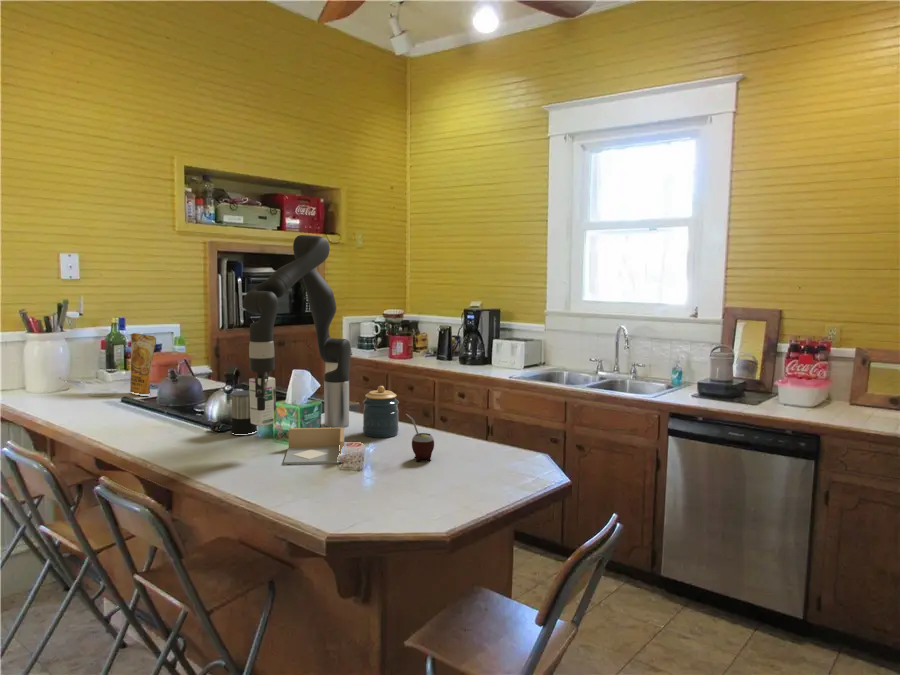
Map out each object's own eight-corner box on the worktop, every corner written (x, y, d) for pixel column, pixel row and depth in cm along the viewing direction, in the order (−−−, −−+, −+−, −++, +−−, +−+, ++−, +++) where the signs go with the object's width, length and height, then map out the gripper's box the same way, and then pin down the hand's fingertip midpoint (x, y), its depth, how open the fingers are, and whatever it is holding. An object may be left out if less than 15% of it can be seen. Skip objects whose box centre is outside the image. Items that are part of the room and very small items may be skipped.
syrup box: (261, 426, 197) (260, 379, 195) (249, 423, 201) (248, 377, 199) (276, 423, 202) (275, 377, 200) (265, 420, 205) (264, 375, 203)
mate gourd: (438, 459, 203) (439, 412, 201) (423, 465, 196) (424, 417, 195) (419, 455, 207) (419, 409, 206) (404, 460, 201) (404, 413, 199)
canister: (381, 440, 224) (381, 390, 223) (355, 434, 232) (355, 386, 230) (406, 433, 235) (406, 385, 233) (380, 427, 242) (380, 381, 241)
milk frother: (258, 435, 228) (258, 394, 227) (211, 438, 223) (210, 396, 221) (255, 426, 242) (254, 387, 240) (210, 429, 236) (209, 389, 234)
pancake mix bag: (139, 391, 306) (137, 332, 303) (159, 396, 294) (157, 335, 291) (125, 392, 301) (123, 333, 298) (144, 398, 289) (142, 336, 286)
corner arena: (289, 448, 212) (288, 428, 211) (344, 447, 215) (344, 427, 214) (283, 464, 194) (283, 442, 194) (343, 463, 197) (343, 441, 196)
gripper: (271, 358, 192) (272, 412, 194) (276, 352, 206) (277, 402, 208) (245, 359, 191) (247, 412, 193) (252, 352, 205) (253, 402, 207)
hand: (263, 407), depth 200 cm, fingers closed on syrup box, 8 cm apart
